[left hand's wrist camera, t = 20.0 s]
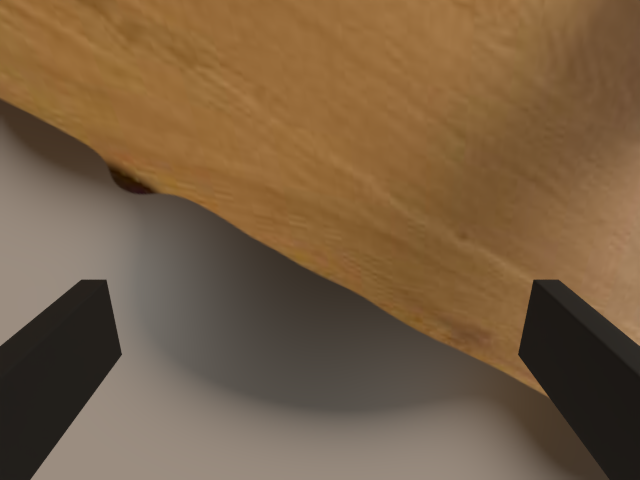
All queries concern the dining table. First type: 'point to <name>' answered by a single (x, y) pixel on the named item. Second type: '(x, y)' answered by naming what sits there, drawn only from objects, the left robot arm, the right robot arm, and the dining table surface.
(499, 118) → the dining table surface
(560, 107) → the dining table surface
